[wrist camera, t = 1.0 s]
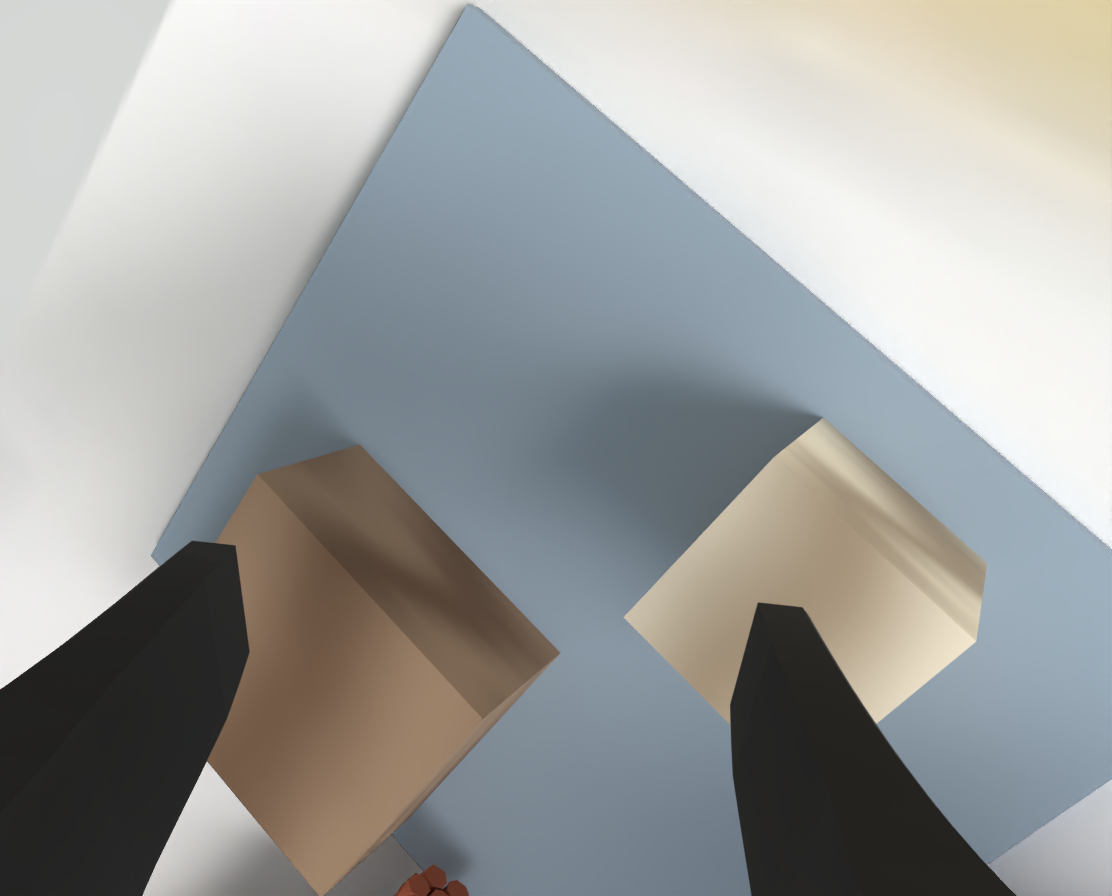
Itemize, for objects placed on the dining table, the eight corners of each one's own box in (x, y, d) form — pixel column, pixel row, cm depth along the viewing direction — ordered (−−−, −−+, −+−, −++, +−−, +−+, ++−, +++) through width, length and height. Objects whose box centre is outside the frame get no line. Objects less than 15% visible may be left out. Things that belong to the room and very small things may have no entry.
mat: (1248, 668, 19) (1255, 680, 18) (637, 1092, 27) (629, 1109, 27) (481, 9, 23) (468, 3, 23) (165, 550, 32) (151, 555, 31)
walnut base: (560, 653, 25) (483, 719, 21) (409, 818, 28) (320, 898, 25) (360, 444, 26) (257, 473, 23) (240, 624, 30) (134, 673, 26)
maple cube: (987, 563, 20) (976, 641, 16) (838, 692, 22) (795, 790, 18) (823, 417, 21) (773, 457, 17) (694, 553, 23) (623, 617, 19)
